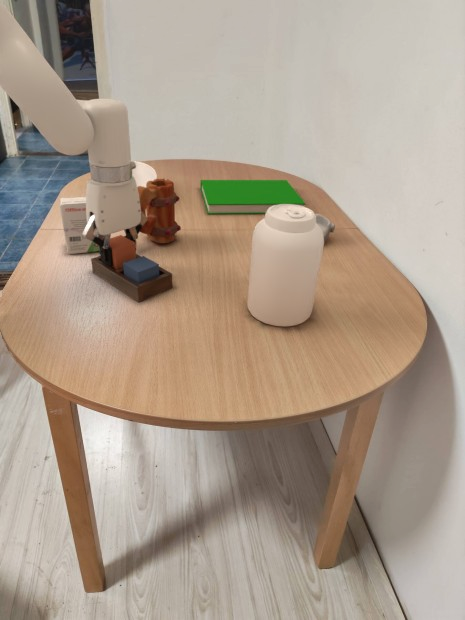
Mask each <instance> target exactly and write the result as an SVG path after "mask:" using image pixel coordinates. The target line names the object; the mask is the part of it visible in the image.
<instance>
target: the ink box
mask: <svg viewBox="0 0 465 620" xmlns="http://www.w3.org/2000/svg"><path fill="white" fill-rule="evenodd" d="M59 209H60V215H61V222H62V228H63V233H64V240H65V245H66V246H65V247H66V252H67V255H75V254H85V253H86V254H87V253H97V252H100V248H99V245H97V244H96V243H94V242H93V241H90V240H88V239H86V238H85V237H83V236H82V233H83V231H84V229H85V227H86V225H87V217H86V196H79V197H60V198H59ZM97 232H98V229H95V230H94V232H93V235H95V236H97ZM103 238H104V237H103Z"/></svg>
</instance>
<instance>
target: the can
mask: <svg viewBox="0 0 465 620" xmlns="http://www.w3.org/2000/svg"><path fill="white" fill-rule="evenodd" d="M315 214H316V213H315V212H314V211H313V209H311V208H309V207H306V206H304V207H303V206H300V205H294V204H279V205H274V206H272V207H270V208H269V209H268V210H267V212H266V214H264V217H263V218H262V219H261V220H259V221H258V222H257V223H256V224H255V227H254V229H253V231H252V237H251V238H252V239H251V250H250V263H249V276H248V288H247V301H246V302H247V303H246V305H247V306H246V307H247V309H248V311H249V313H250V315H251V316H252V317H253V318H255V319H256V320H257V321H259V322H261V323H264V324H266V325H271V326H275V327H294V326H298V325H300V324H303V323H305V321H307V320H308V319H309V318H310V317H311V316H312V313H313V310H314V303H315V298H316V291H317V285H318V281H319V280H318V279H319V275H320V270H321V269H320V268H321V264H322V263H321V262H322V258H323V251H324V250H323V249H324V247H325V246H324V245H325V242H324V237H323V232H322V229H321V228H320V227H319V226H318V225H317V223H316V216H315Z"/></svg>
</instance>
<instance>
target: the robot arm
mask: <svg viewBox="0 0 465 620" xmlns="http://www.w3.org/2000/svg"><path fill="white" fill-rule="evenodd" d="M0 88H1V89H2V90H3V91H4V92H5V93H6V95H8V96H9V98H10V99H11V100H12V101H13V103H15V105H16V106H17V107H18V108H19V109H20V111H22V112H23V114H24V115H25V116H26V117H27V119H28V120H29V121H30V122H31V123H32V124H33V126H34V127H35V128H36V129H37V130H38V132H39V133H40V134H41V135H42V137H43V138H44V139H45V140H46V141H47V143H48V144H49V145H50V146H51V147H52V148H53V149H54V150H55V151H57V152H59V153H61V154H62V155H65V156H72V157H73V156H79V155H82V154H84V153H85V152H87V154H88V155H87V156H88V162H89V171H90V172H89V173H90V179H87V181H86V187H85V188H86V189H85V197H86V217H87V225H86V227H85V229H84V231H83V233H82V236H83V237H85V238H86V239H88V240H90V241H93V242H94V243H96V244H97V245H99V248H100V251H99V256H100V257H101V260H102V261H103V262H104V263H105V264H107V265H109V266H113V257H112V249H111V248H110V247H109V243H110V238H111V236H112V234H115V233H118V232H121V231H122V232H123V231H124V233H125V235H123V236H124V237H126V238H128V239H129V240H131V241H133V242H135V245H136V246H137V242H136V241H137V240H138V239H139V234H140V233H141V232H140V230H141V229H142V226H143V225H144V224H145V223H146V221H147V220H148V218H147V215H146V216H145V215H144V213H143V212H142V211H141V207H140V199H139V193H138V188H137V185H136V181H135V178H134V177H133V176H132V169H135V168H136V164H135V162H131V161H132V156H131V155H132V153H131V139H130V138H131V137H130V125H129V123H130V122H129V111H128V107H127V105H126V104H125V103H124V102H123V101H122V100H119V99H114V98H93V99H89V100H86V99H85V100H84V99H76V97H75V96H74V95H73V93H72V92H71V91H70V89H69V88H68V87H67V85H66V83H64V81H63V80H62V79H61V77H60V76H59V75H58V73H56V71H55V70H54V68H53V67H52V65H50V63H49V62H48V61H47V59H46V58H45V57H44V55H42V53H41V52H40V50H39V49H38V48H37V46H36V45H35V43H34V42H33V41H32V39H31V38H30V36H29V35H28V33H27V32H26V31H25V30H24V29H23V27H22V26H21V25H20V24H19V22H18V21H17V20H16V18H15V17H14V16H13V14H12V13H11V12H10V10H8V8H7V6H6V5H5V4H4V2H3V1H2V0H0ZM95 229H98V232H97V236H95V235H93V232H94V230H95ZM103 237H104V238H103Z"/></svg>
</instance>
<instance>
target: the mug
mask: <svg viewBox="0 0 465 620" xmlns="http://www.w3.org/2000/svg"><path fill="white" fill-rule="evenodd" d="M174 184H175V183H174V182H173V181H172V180H170V179H168V178H167V179H166V180H165V178H157V179H154V181H148V182H147V184H146V187H142V186H138V187H137V188H138V193H139V199H140V207H141V211H142V212H143V213H144V215H145V216H146V217H147V218H148V220H147V221H146V223H145V224H144V225H143V226H142V229H141V230H140V232H139V233H141V234H144V235H146V237H147V240H149V241H151V242H153V243H156V244H169V243H172V242H173V241H174V240H175V238H176V234H177V233H178V232H179V231H181V229H182V227H181V226H180V225H179V224H178V222H177V221H176V214H175V213H176V212H175V211H176V209H175V204H176V203H177V202H179V201H180V199H181V198H180V196H178V195H177V193H176V191H175V185H174Z"/></svg>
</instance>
